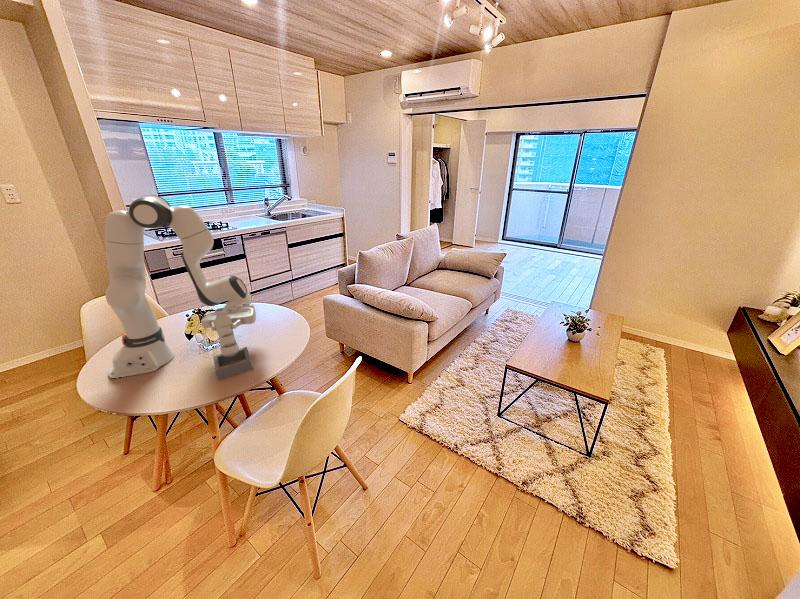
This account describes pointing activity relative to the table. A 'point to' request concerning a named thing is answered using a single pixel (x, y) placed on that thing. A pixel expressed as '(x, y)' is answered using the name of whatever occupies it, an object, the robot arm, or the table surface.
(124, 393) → the table surface
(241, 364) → the collar socket
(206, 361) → the table surface
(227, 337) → the plastic bottle
